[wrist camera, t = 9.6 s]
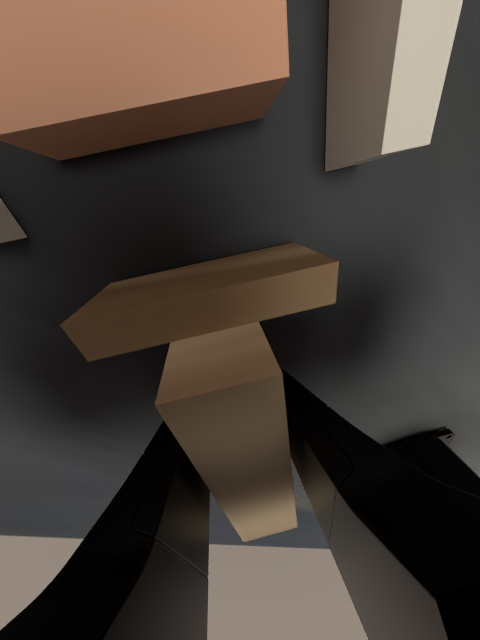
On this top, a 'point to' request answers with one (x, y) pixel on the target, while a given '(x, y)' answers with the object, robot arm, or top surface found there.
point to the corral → (372, 80)
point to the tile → (134, 70)
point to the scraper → (219, 366)
